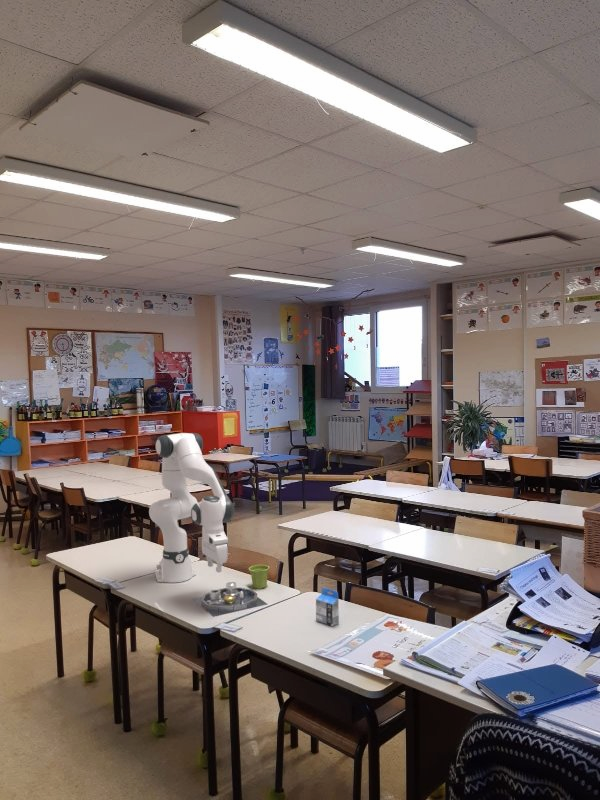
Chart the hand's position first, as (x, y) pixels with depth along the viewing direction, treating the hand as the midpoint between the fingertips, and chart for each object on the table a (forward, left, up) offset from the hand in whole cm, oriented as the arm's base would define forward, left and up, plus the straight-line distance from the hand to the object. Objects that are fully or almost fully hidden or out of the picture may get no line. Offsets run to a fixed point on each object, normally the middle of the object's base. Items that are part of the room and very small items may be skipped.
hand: (214, 569), depth 247 cm
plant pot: (-13, +26, -16) cm, 34 cm away
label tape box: (+39, +30, -16) cm, 52 cm away
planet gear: (0, 0, -15) cm, 15 cm away
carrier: (0, +6, -16) cm, 17 cm away
